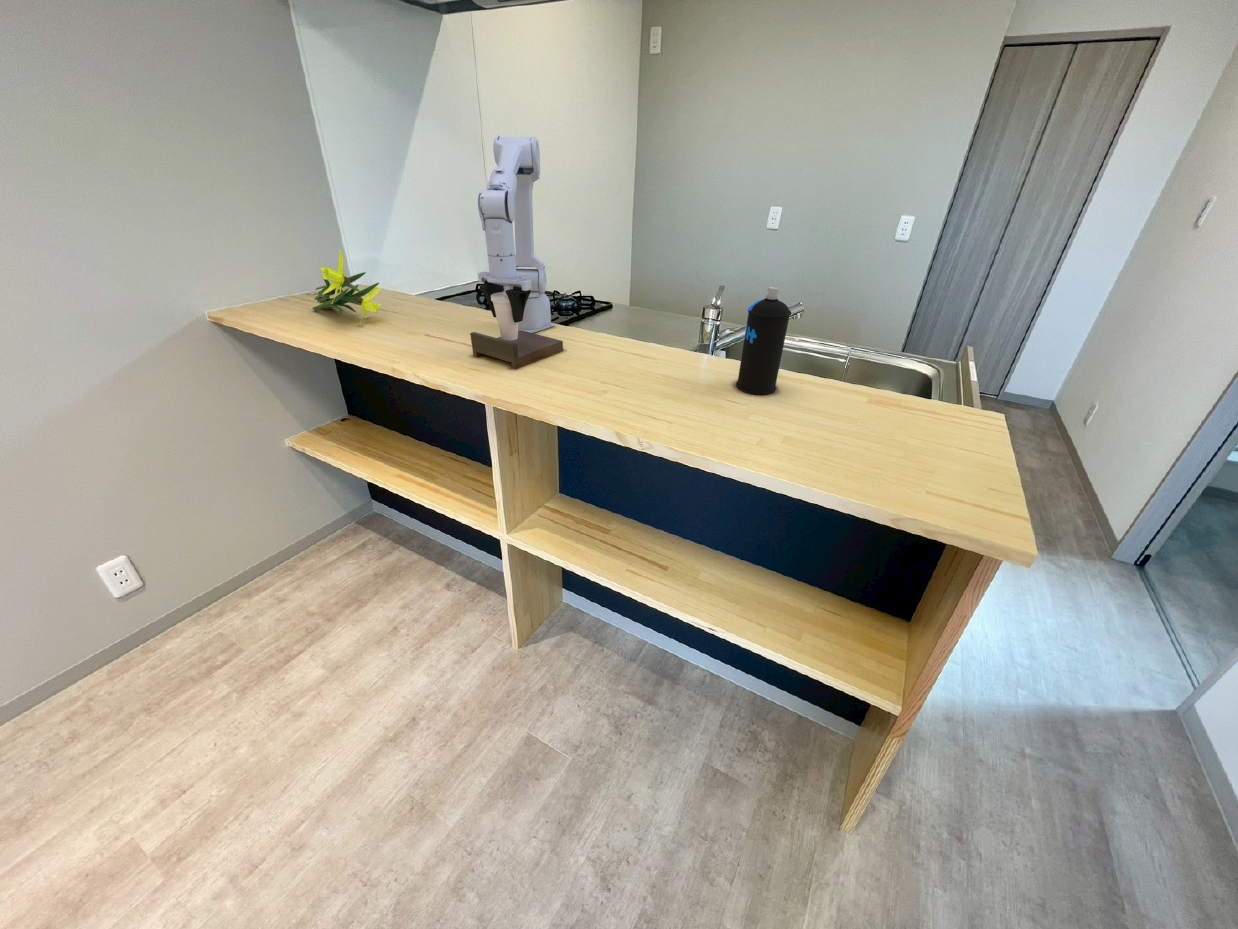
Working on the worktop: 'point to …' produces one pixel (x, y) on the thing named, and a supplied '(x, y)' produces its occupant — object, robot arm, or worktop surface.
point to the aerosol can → (763, 345)
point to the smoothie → (504, 316)
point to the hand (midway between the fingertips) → (507, 318)
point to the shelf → (516, 347)
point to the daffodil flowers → (344, 297)
